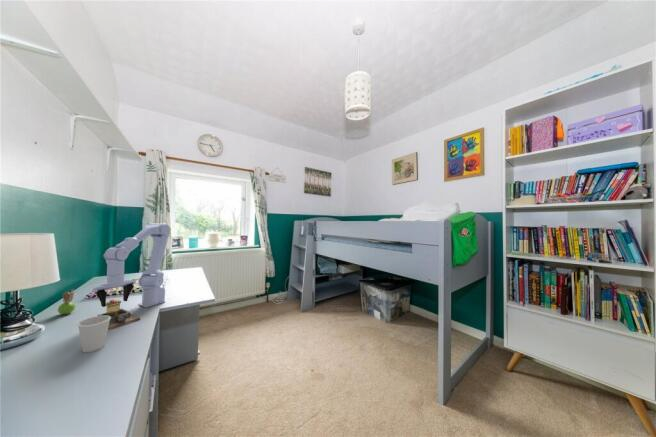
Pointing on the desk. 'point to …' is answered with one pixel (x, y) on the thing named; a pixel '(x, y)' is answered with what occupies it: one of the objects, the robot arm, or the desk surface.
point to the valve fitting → (113, 308)
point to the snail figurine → (67, 303)
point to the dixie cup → (93, 332)
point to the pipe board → (128, 320)
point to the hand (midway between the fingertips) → (114, 303)
